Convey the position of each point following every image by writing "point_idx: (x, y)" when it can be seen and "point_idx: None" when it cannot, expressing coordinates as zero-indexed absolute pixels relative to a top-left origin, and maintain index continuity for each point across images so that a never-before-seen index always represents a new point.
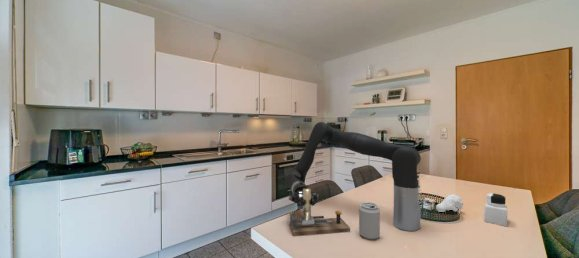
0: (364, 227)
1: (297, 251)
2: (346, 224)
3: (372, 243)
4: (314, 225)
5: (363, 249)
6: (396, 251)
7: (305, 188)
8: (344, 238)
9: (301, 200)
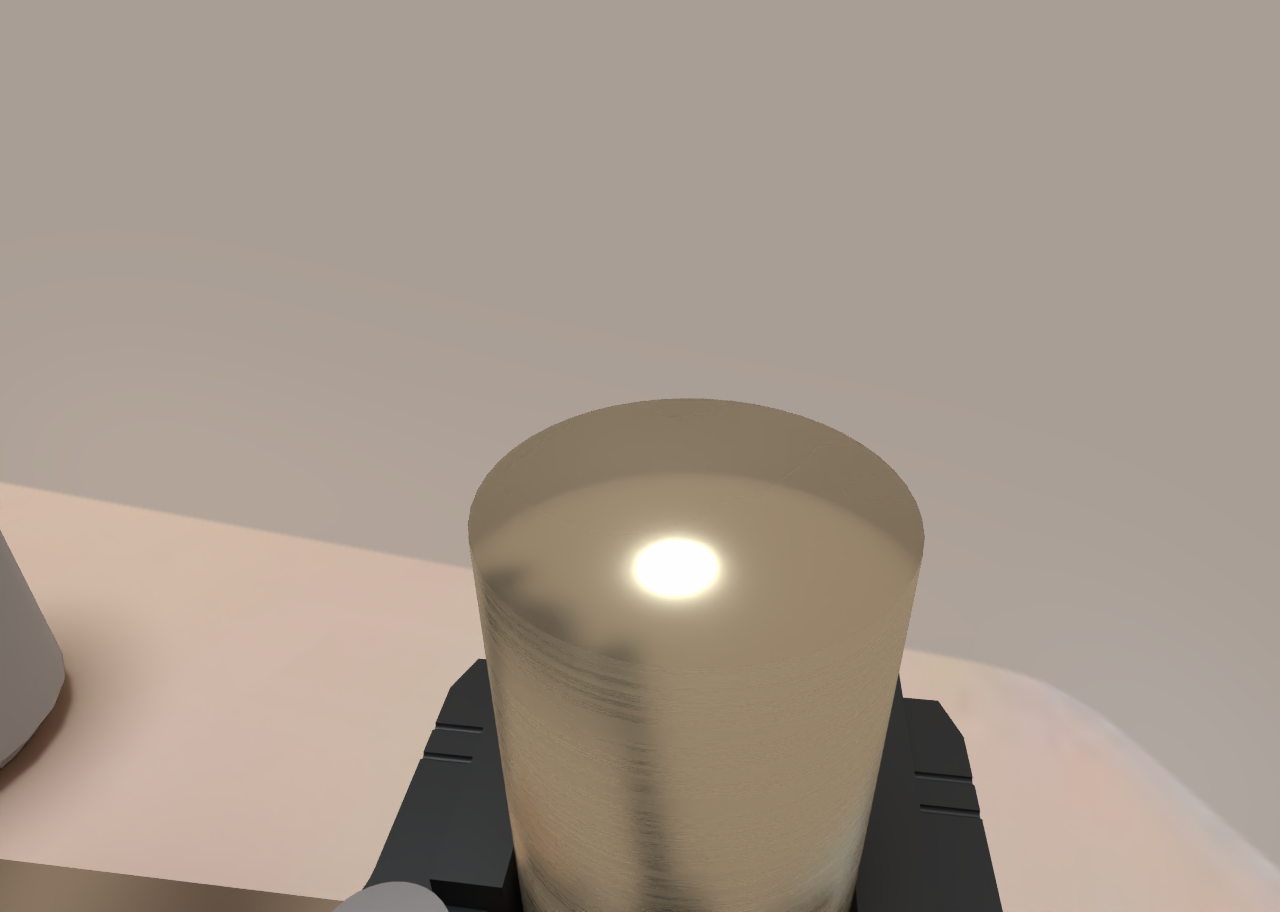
0: (20, 584)
1: (940, 668)
2: None
3: (104, 617)
4: None
5: (287, 569)
6: (75, 506)
7: (746, 602)
8: (273, 759)
9: (933, 795)
